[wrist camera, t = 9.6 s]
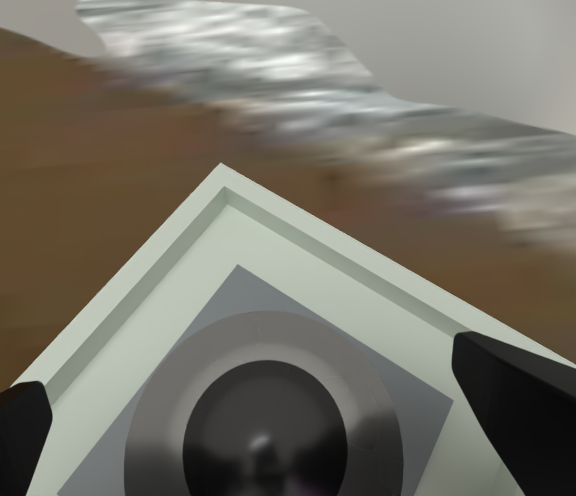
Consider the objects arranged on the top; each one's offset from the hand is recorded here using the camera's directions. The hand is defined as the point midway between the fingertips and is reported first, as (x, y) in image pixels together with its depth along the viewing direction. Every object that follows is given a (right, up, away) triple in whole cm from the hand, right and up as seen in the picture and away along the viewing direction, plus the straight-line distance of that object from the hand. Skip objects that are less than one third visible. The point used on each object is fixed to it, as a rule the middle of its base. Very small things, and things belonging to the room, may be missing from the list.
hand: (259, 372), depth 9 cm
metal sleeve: (0, -5, +7) cm, 8 cm away
